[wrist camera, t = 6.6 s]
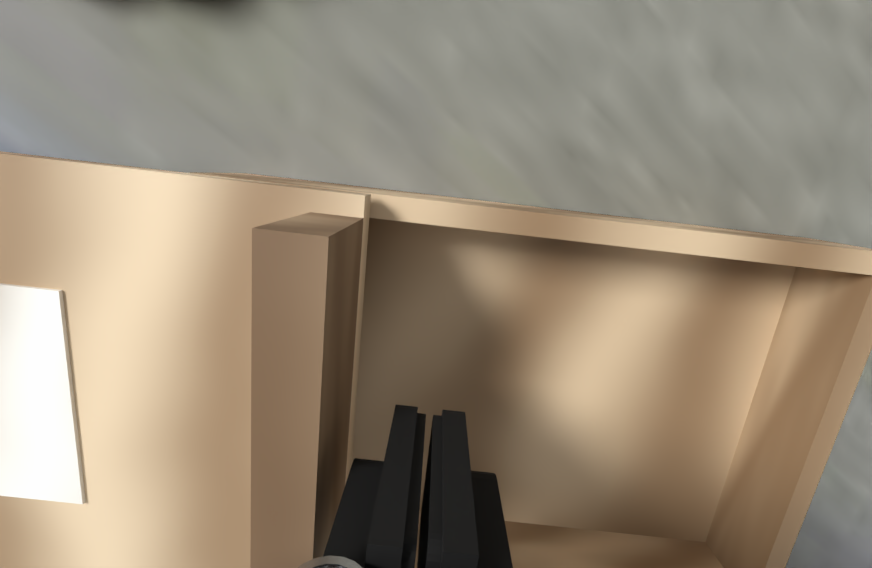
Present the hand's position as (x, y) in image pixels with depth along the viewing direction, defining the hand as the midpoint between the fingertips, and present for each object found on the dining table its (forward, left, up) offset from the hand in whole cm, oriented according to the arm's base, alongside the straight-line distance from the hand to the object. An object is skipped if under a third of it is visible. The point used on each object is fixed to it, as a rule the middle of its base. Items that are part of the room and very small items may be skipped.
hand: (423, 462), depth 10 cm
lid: (+11, 0, -2) cm, 11 cm away
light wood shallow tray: (-3, 0, -5) cm, 6 cm away
